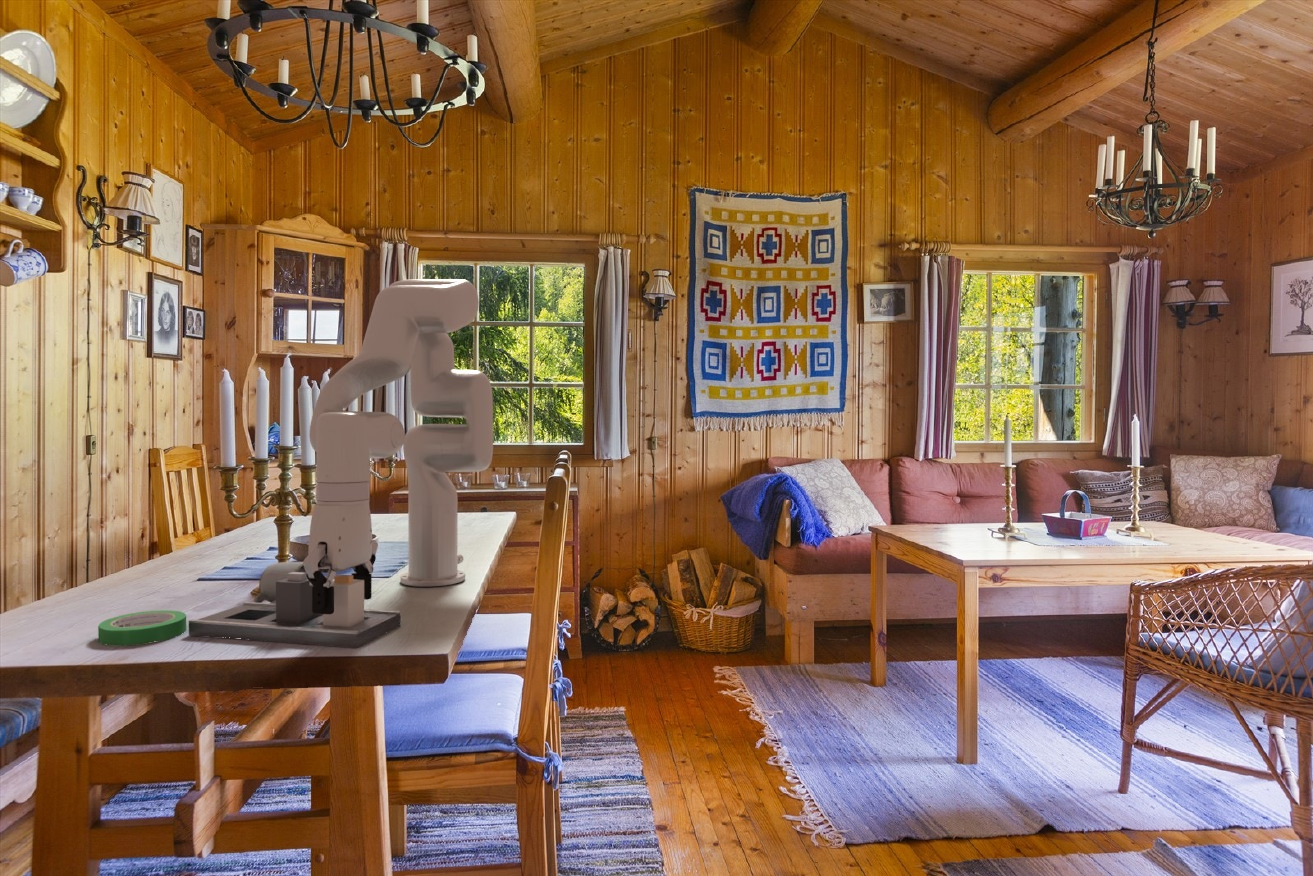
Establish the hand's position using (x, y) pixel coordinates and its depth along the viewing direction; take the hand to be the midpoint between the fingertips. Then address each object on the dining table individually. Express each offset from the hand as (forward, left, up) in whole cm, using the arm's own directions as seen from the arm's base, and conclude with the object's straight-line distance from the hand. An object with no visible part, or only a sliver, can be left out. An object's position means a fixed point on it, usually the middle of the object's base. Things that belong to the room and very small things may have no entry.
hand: (343, 605), depth 118 cm
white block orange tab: (0, 0, -4) cm, 4 cm away
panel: (0, -8, -4) cm, 9 cm away
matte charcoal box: (0, -8, -4) cm, 9 cm away
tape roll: (+7, -29, -5) cm, 30 cm away
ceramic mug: (-14, -20, -5) cm, 25 cm away
